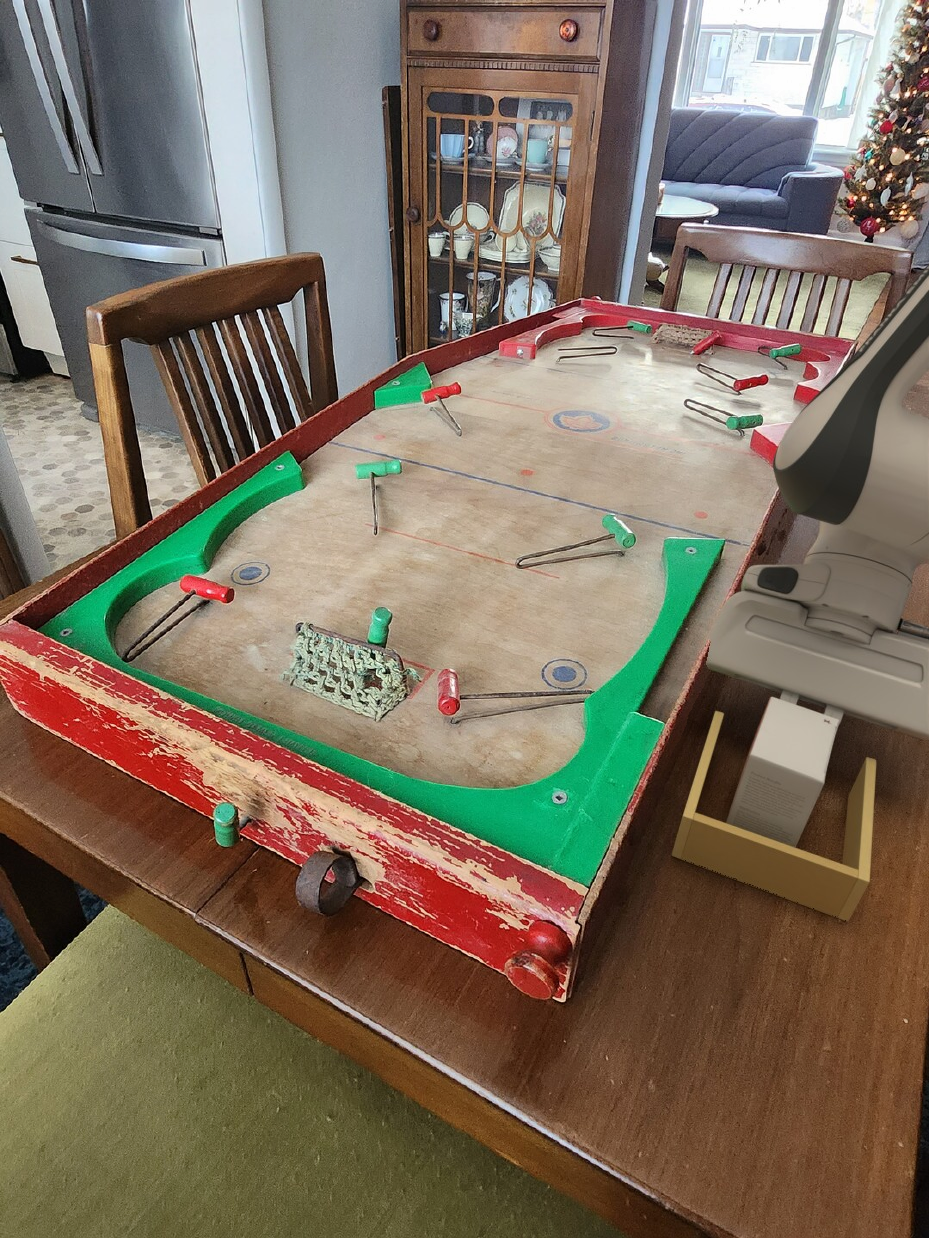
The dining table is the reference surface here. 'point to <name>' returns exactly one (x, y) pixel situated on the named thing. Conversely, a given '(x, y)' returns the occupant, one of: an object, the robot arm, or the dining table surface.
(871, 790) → the bay
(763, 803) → the small box
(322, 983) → the dining table surface
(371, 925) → the dining table surface
